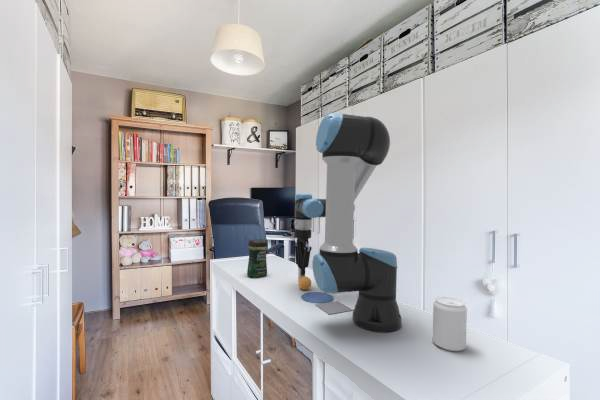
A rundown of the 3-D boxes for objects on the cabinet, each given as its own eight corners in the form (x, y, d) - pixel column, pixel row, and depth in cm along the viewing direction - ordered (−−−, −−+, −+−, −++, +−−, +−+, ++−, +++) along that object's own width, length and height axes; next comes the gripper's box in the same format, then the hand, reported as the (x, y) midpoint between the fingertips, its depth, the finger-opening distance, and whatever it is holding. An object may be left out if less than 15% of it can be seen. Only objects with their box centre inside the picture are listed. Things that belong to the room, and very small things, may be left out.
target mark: (340, 300, 115) (340, 300, 115) (310, 305, 109) (310, 304, 109) (323, 290, 126) (323, 290, 126) (295, 294, 121) (295, 294, 121)
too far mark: (353, 310, 104) (353, 309, 104) (329, 314, 100) (329, 314, 100) (337, 301, 113) (337, 300, 113) (314, 305, 109) (314, 304, 109)
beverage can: (458, 339, 84) (458, 297, 84) (471, 354, 76) (472, 307, 76) (428, 337, 85) (429, 295, 85) (438, 351, 77) (439, 305, 77)
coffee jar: (252, 279, 142) (253, 240, 142) (245, 275, 149) (245, 238, 149) (269, 276, 148) (270, 239, 148) (262, 273, 154) (262, 237, 154)
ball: (309, 290, 129) (314, 286, 125) (298, 292, 127) (303, 287, 123) (306, 278, 132) (311, 274, 128) (295, 279, 130) (300, 275, 126)
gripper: (289, 227, 135) (287, 279, 135) (301, 230, 123) (300, 287, 123) (303, 227, 138) (302, 277, 138) (317, 230, 126) (316, 285, 127)
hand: (301, 282), depth 131 cm, fingers closed
